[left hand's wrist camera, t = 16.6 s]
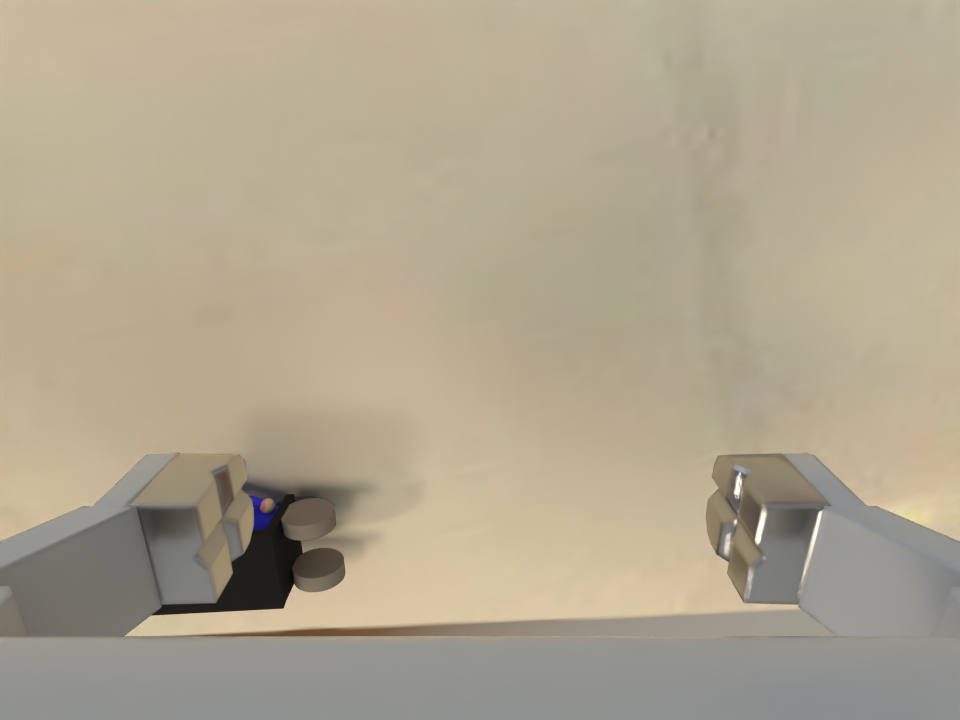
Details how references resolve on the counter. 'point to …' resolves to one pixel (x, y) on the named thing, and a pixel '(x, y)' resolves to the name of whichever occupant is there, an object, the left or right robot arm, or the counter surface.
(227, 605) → the figurine character
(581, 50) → the counter surface
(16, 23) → the counter surface
